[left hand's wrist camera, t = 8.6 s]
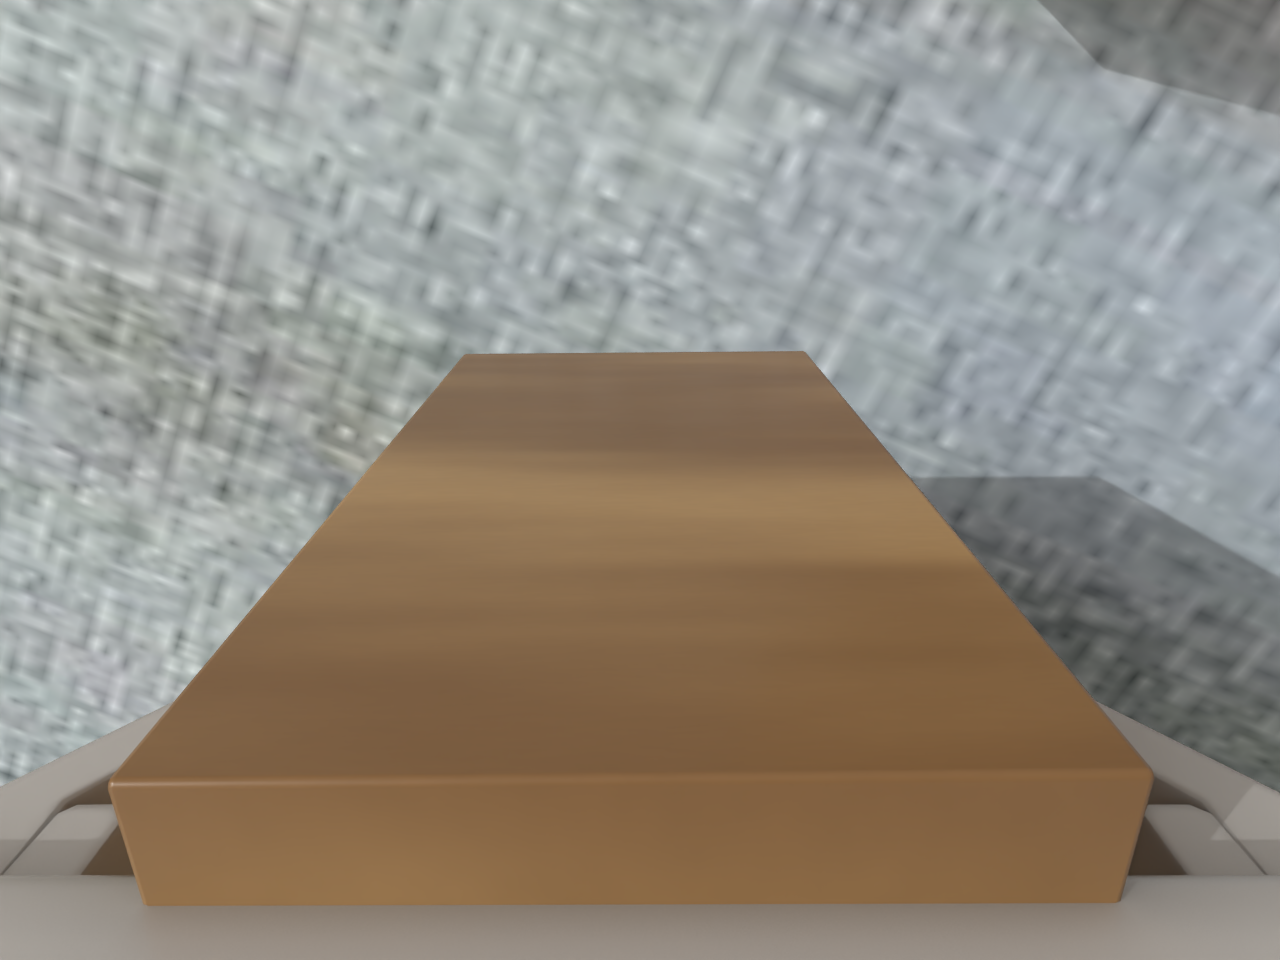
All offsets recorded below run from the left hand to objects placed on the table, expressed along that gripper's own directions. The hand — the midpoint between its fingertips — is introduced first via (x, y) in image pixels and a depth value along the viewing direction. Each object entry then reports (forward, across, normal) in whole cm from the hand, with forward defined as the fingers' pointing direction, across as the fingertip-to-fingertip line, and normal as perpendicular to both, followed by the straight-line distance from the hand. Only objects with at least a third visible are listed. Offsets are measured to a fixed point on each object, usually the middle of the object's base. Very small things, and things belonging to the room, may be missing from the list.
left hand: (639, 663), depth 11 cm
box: (+6, 0, -10) cm, 11 cm away
